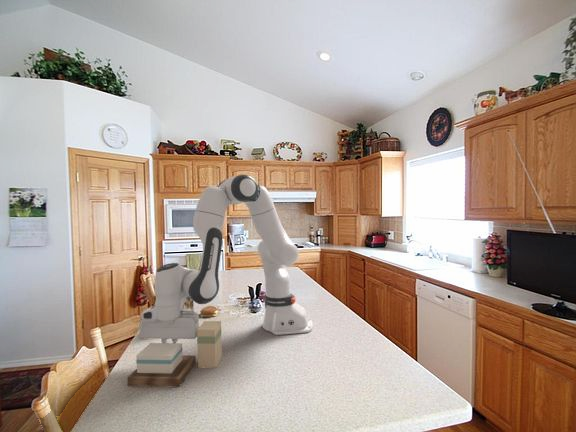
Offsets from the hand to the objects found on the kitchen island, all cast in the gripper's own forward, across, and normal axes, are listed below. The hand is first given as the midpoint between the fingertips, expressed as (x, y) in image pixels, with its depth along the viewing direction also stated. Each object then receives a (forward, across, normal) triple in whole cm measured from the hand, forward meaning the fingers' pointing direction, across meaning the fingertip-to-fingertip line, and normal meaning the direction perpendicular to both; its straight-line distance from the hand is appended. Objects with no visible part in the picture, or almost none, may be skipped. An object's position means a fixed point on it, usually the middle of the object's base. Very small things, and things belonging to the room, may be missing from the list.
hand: (170, 349), depth 98 cm
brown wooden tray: (+4, -1, +7) cm, 8 cm away
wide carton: (+2, 0, +7) cm, 7 cm away
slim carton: (+4, -14, 0) cm, 15 cm away
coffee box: (+4, +9, -30) cm, 31 cm away
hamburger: (+5, 0, -44) cm, 45 cm away
